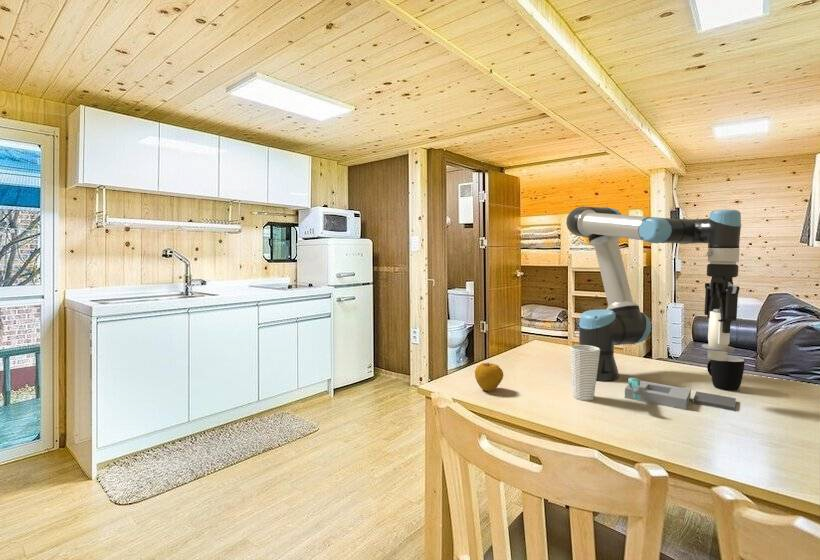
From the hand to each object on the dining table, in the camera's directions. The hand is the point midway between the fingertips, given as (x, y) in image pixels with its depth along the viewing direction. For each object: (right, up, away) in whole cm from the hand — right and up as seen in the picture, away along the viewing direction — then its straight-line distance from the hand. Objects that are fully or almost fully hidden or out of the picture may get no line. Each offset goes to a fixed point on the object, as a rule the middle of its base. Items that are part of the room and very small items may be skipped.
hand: (718, 341), depth 130 cm
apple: (-66, -17, +11) cm, 69 cm away
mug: (+13, -18, +17) cm, 27 cm away
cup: (-38, -18, +4) cm, 43 cm away
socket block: (-16, -18, +4) cm, 24 cm away
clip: (-25, -14, -1) cm, 29 cm away
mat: (0, -18, +1) cm, 18 cm away
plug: (0, -5, 0) cm, 5 cm away
